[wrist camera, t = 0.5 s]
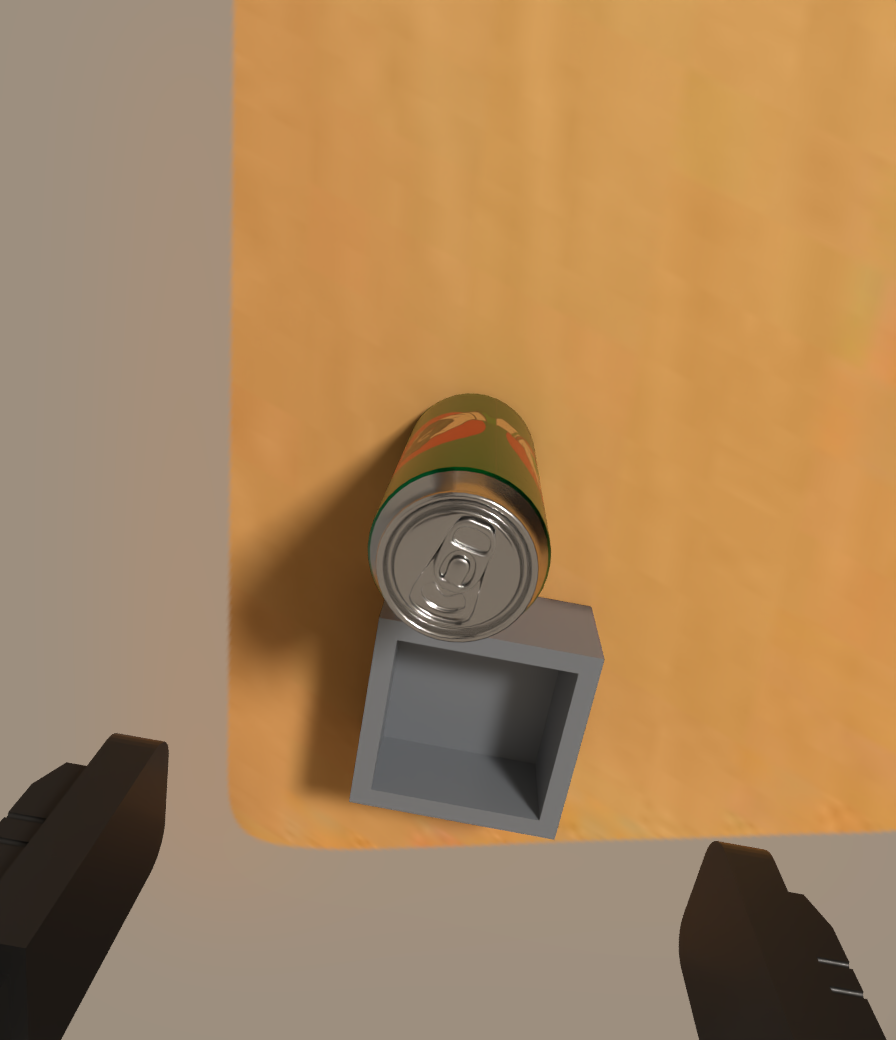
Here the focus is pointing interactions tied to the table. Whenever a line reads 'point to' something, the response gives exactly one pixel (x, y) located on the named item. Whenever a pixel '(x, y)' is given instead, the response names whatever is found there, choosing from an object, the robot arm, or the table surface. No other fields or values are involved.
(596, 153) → the table surface
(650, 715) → the table surface
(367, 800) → the grey hollow square box
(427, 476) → the soda can
